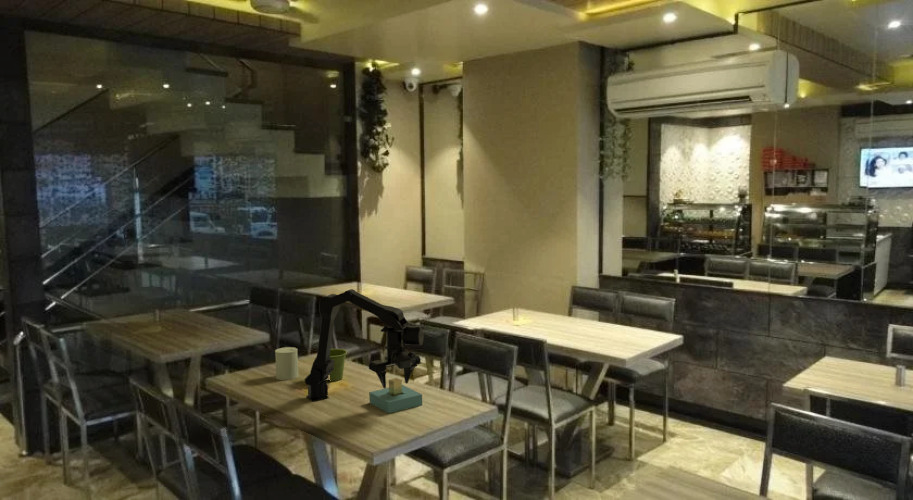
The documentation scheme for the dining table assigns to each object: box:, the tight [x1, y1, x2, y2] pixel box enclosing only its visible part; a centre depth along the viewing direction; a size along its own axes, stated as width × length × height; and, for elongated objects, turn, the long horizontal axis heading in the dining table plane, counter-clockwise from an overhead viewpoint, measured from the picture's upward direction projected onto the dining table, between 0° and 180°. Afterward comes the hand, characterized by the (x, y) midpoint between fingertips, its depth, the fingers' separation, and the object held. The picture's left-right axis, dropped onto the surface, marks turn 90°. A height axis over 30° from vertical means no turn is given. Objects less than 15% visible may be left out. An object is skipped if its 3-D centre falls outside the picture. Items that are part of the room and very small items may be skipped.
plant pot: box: [330, 348, 348, 382], centre depth 267 cm, size 12×12×11 cm
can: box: [274, 346, 300, 381], centre depth 271 cm, size 9×9×12 cm
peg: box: [388, 377, 403, 396], centre depth 237 cm, size 3×3×9 cm
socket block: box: [368, 384, 423, 414], centre depth 237 cm, size 14×14×4 cm
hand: (395, 385), depth 236 cm, fingers open, 9 cm apart
